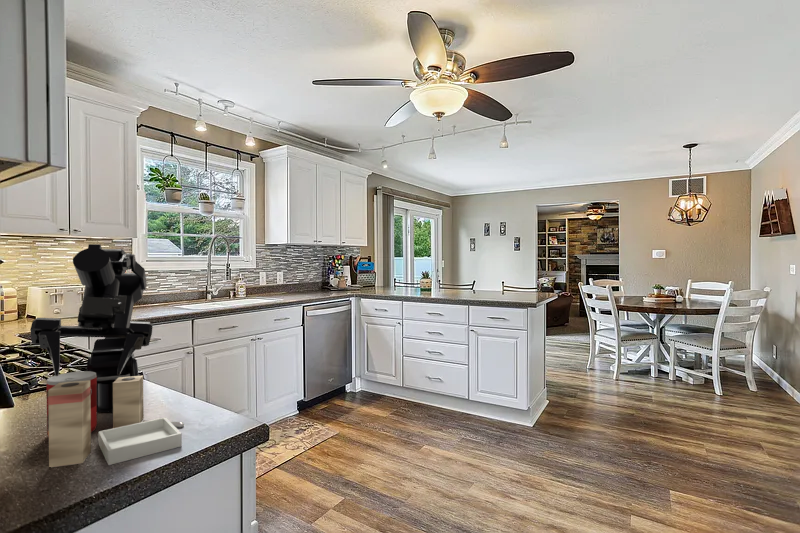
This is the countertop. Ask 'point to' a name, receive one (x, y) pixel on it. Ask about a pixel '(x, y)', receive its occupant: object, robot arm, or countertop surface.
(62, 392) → the block
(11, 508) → the countertop surface
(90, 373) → the canned food
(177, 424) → the pin gauge
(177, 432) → the tray
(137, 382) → the block
